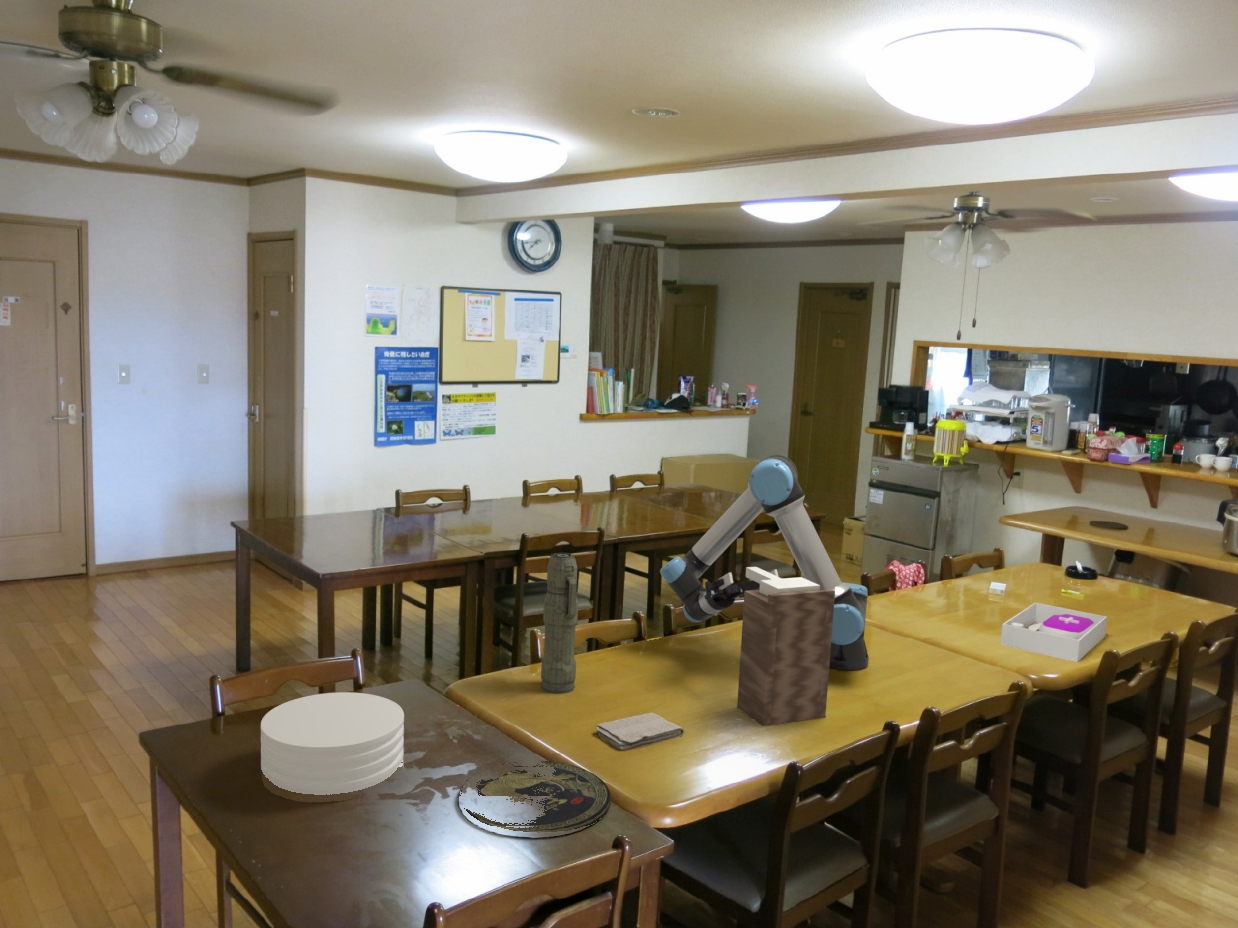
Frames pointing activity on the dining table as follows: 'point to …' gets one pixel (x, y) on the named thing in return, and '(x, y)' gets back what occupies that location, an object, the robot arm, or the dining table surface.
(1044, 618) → the white open tray
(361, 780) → the plate stack
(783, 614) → the walnut stand
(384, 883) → the dining table surface
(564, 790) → the decorative plate
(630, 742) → the washcloth
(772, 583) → the beige stepped block
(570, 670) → the thermos
